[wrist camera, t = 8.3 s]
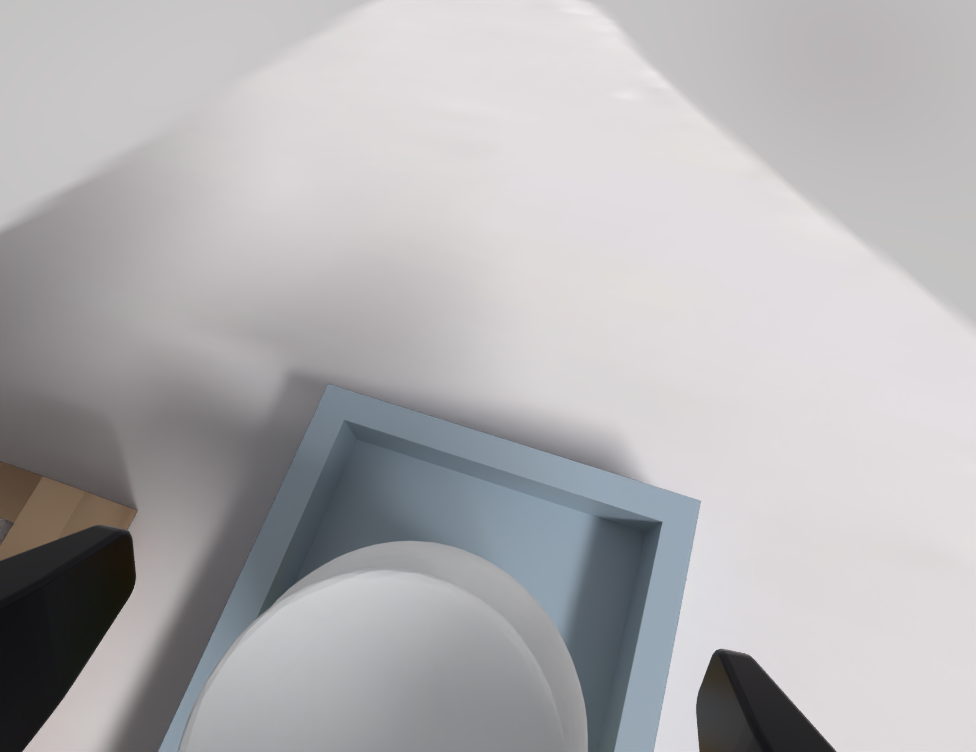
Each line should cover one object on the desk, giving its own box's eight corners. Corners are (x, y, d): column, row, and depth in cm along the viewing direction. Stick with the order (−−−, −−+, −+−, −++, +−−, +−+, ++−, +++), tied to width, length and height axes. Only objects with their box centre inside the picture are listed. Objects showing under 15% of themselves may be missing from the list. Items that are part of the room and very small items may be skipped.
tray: (560, 1063, 13) (577, 1154, 11) (141, 883, 14) (75, 931, 12) (672, 518, 18) (700, 500, 15) (347, 414, 19) (328, 383, 16)
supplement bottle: (314, 595, 16) (104, 542, 7) (520, 560, 16) (573, 467, 7) (328, 847, 14) (55, 1237, 5) (563, 799, 14) (711, 1077, 5)
